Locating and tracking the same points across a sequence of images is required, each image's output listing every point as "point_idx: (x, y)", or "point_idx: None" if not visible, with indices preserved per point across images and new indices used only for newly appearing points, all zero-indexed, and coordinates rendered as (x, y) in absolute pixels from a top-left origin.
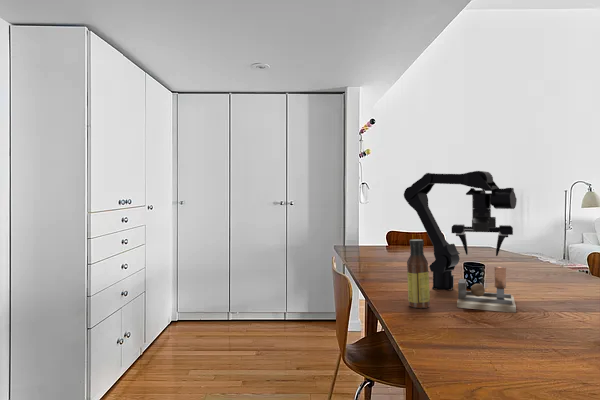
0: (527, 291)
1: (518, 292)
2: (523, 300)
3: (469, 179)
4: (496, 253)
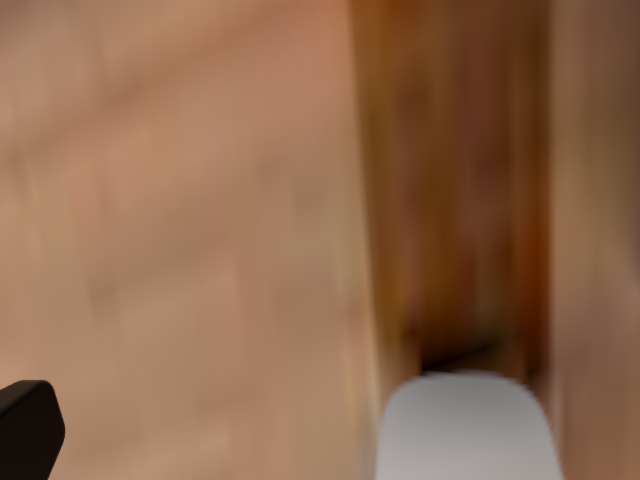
0: None
1: (109, 361)
2: (8, 49)
3: None
4: (3, 406)
